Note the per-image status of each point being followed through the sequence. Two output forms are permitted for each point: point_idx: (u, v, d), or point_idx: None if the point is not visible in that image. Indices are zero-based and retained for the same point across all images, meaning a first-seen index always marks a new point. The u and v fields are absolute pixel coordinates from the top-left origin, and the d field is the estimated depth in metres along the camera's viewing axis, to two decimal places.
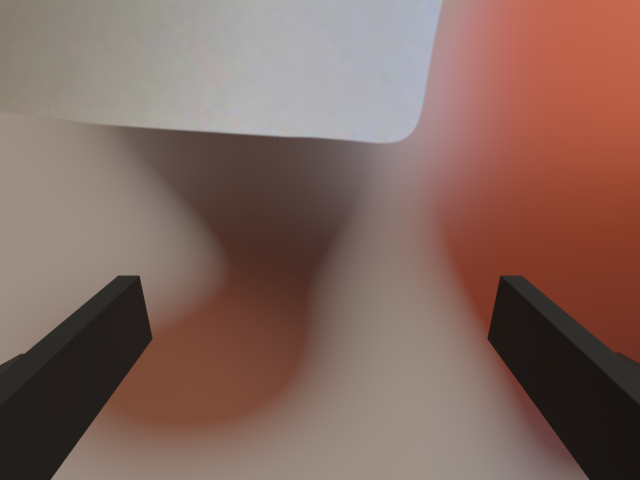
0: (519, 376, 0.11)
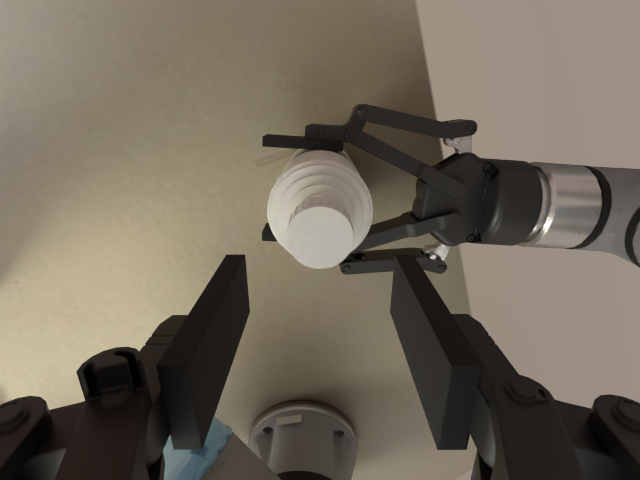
0: (401, 339, 0.13)
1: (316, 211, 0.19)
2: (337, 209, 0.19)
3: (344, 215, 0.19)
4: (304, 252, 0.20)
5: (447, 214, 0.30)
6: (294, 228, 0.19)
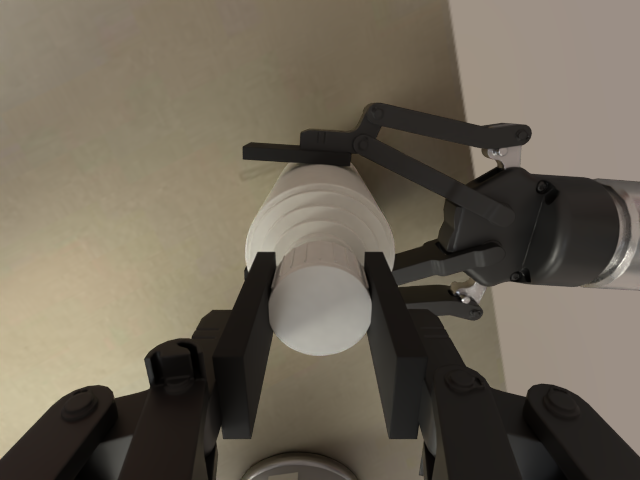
0: (368, 334, 0.13)
1: (314, 273, 0.12)
2: (347, 268, 0.12)
3: (358, 278, 0.12)
4: (295, 332, 0.13)
5: (487, 248, 0.23)
6: (279, 298, 0.12)
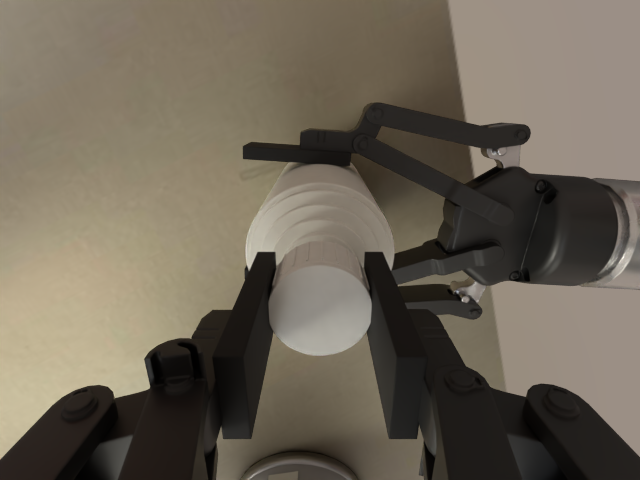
0: (368, 334, 0.13)
1: (289, 339, 0.13)
2: (269, 314, 0.13)
3: None
4: (353, 317, 0.13)
5: (486, 247, 0.23)
6: (330, 347, 0.13)
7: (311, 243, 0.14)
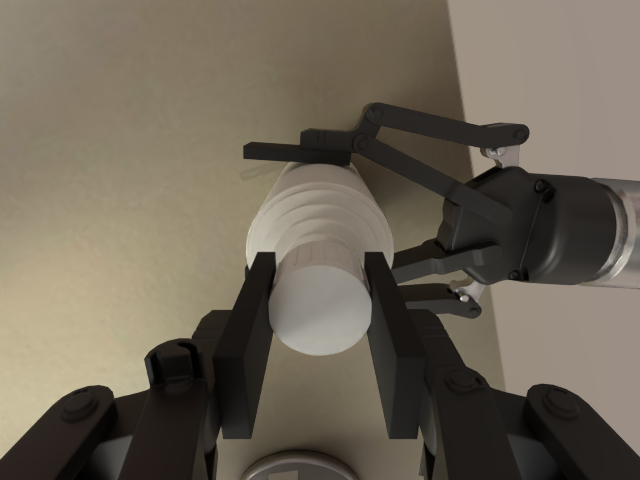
0: (368, 334, 0.13)
1: (364, 317, 0.13)
2: None
3: None
4: (302, 286, 0.12)
5: (486, 246, 0.23)
6: (346, 281, 0.12)
7: None
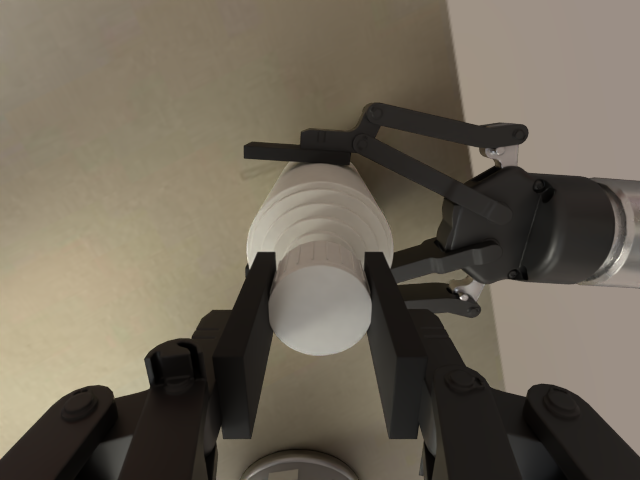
0: (368, 334, 0.13)
1: (295, 279, 0.12)
2: (325, 262, 0.12)
3: (339, 266, 0.12)
4: (307, 339, 0.13)
5: (485, 246, 0.23)
6: (276, 314, 0.13)
7: None
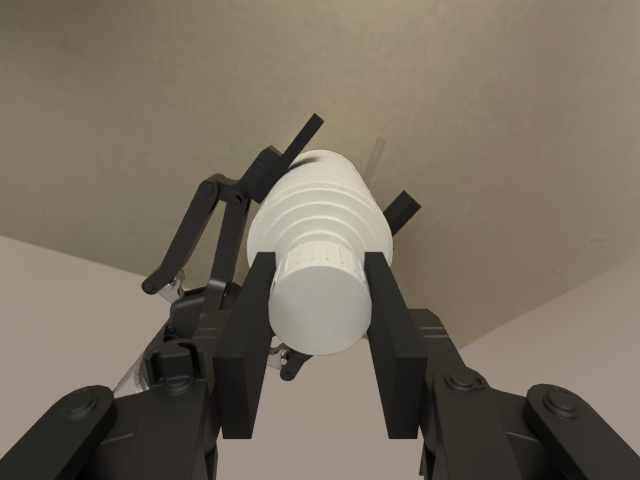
0: (368, 334, 0.13)
1: (295, 279, 0.12)
2: (325, 262, 0.12)
3: (339, 266, 0.12)
4: (307, 339, 0.13)
5: None
6: (276, 314, 0.13)
7: None
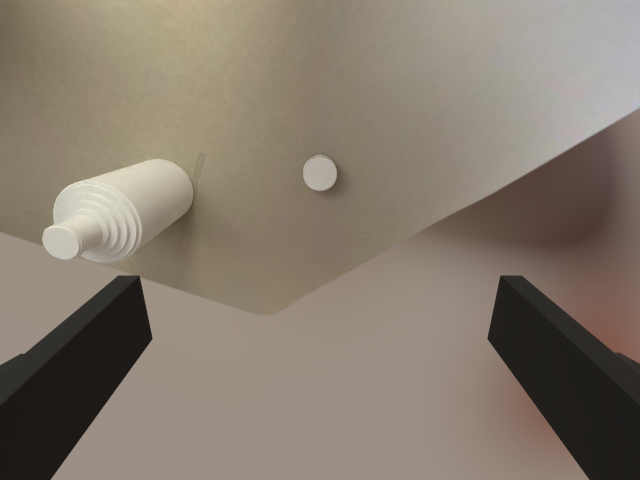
0: (519, 376, 0.11)
1: (312, 161, 0.38)
2: (321, 156, 0.39)
3: (326, 158, 0.39)
4: (315, 184, 0.39)
5: None
6: (306, 174, 0.39)
7: None
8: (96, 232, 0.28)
